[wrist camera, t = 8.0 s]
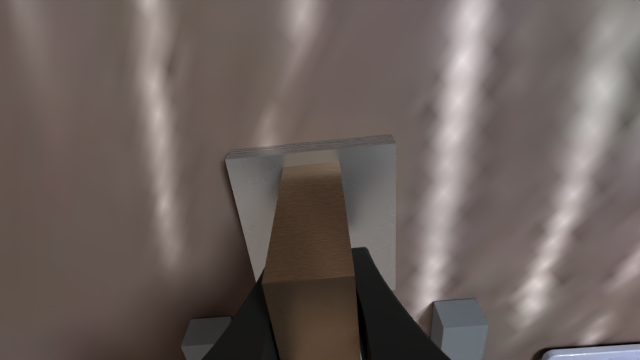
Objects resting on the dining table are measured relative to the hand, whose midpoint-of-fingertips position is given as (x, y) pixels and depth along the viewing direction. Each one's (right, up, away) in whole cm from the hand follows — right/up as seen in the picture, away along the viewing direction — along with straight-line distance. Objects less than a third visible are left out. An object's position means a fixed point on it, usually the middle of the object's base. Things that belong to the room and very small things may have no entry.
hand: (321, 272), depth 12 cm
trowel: (0, +2, +2) cm, 3 cm away
